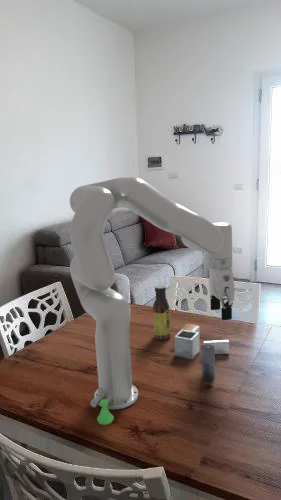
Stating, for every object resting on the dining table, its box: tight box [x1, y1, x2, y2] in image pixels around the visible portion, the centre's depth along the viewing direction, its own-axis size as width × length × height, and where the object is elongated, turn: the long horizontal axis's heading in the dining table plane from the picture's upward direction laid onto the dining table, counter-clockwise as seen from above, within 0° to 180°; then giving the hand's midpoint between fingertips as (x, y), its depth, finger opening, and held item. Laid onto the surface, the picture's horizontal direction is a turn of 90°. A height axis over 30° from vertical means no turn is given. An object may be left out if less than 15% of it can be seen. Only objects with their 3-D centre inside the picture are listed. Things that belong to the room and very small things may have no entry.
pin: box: [200, 344, 216, 382], centre depth 123 cm, size 4×4×10 cm
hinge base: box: [174, 323, 201, 360], centre depth 145 cm, size 18×9×7 cm, turn 151°
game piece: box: [96, 399, 115, 426], centre depth 105 cm, size 4×4×6 cm
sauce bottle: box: [152, 285, 171, 340], centre depth 152 cm, size 6×6×20 cm
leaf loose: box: [202, 339, 230, 355], centre depth 138 cm, size 8×1×4 cm, turn 91°
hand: (220, 314), depth 130 cm, fingers open, 8 cm apart
